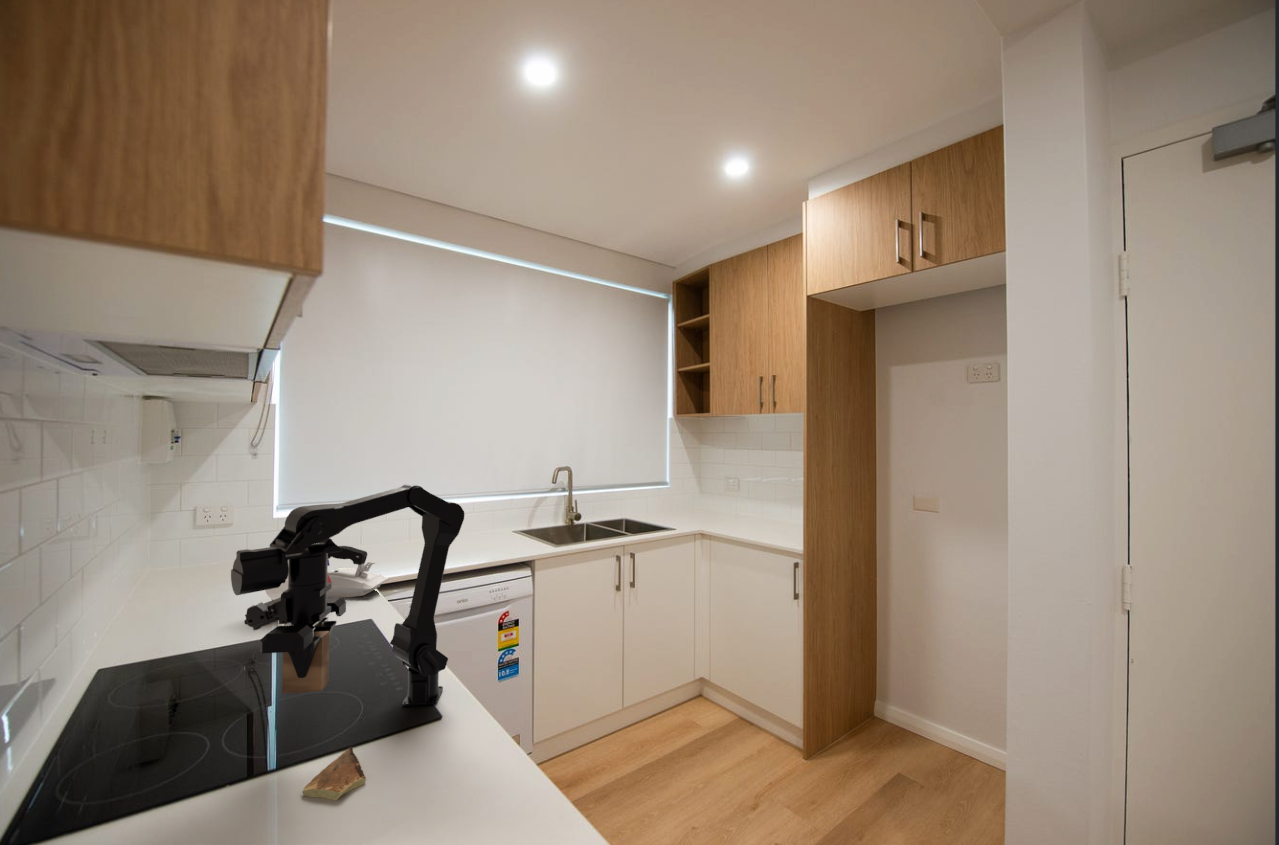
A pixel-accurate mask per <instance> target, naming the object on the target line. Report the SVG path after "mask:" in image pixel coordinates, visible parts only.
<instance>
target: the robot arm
mask: <svg viewBox="0 0 1279 845" xmlns="http://www.w3.org/2000/svg"><path fill="white" fill-rule="evenodd" d="M407 508H409V509H410V510H412V511H413V512H414V513H415V514H417V515H419V516H421V531H422V537H423V541H424V544H423V545H424V546H423V550H422V554H421V558H420V563H419V567H418V573H417V577H416V582H415V585H414V590H413V594H412V600H411V604H410V608H409V612H408V614H407V616H406V618H405V619H404V621H403V622H402V623H398V622H397V623H395V625H394V630H393V636H392V638H391V640H390V642H389V644H390V645H391V646H392V648H391V649H392V654H393V655H394V656H395V657H396V659H398V660H400V662H401V664H402V666H405V667H407V694H406V696H405V698H404V700H403V701H402V703H401V704H402V705H401V706H402V707H412V706H425V705H426V706H427V705H436V704H437V703H438V702H439V700H440V697H441V694H442V692H443V689H444V688H443V686H441V685H439V675H440V674H439V672H441V671H444V670H445V669H446V667H447V664H448V660H449V657H447V656H446V655H444V653H442V652H441V651H439V650H438V649H437V643H438V632H437V627H436V624H435V614H436V611H437V610H436V609H437V605H438V600H439V596H440V591H441V586H442V582H443V577H444V572H445V568H446V563H447V559H448V554H449V553H448V552H449V549H450V546H451V545H452V544H453V542H454V541H455V540H456V538H457V537H458V536H459V534H460V531H461V528H462V525H463V523H464V520H465V510H464V509H463V507H462V506H461V505H460V504H458V503H456V502H452V501H448V500H445V499H443V498H441V497H438V496H437V495H435V494H433V493H431V492H429V491H428V490H426V489H424V487H422V486H419V485H416V484H403V485H402V486H400V487H396V488H394V489H392V488H391V489H389V490H386V491H383V492H379V493H375V494H371V495H367V496H363V497H360V498H357V499H353V500H349V501H348V500H347V501H345V502H340V503H339V502H338V503H325V504H324V503H323V504H322V503H321V504H313V505H304V506H303V505H302V506H299V507H297V508H294V509H292V510H291V511H290V512H289V514H288V515H287V516H286V518H285V521H284V526H283V528H282V529H281V530H280V531H279V532H278V534H276V536H275V538H273V540H272V541H271V542H270V543H269V547H264V548H263V547H262V548H257V549H256V548H255V549H240V550H237V551H236V558H235V559H234V561H233V565H232V569H231V570H230V581H231V587H232V591H233V594H235V596H242V595H247V594H251V593H257V592H262V591H265V590H268V589H273V588H278V587H280V585H281V583H285V581H286V579H287V577H288V589H287V590H286V591H284V592H283V593H282V594H281V597H280V598H277V599H275V600H270V601H267V602H265V603H263V602H262V601H261V602H259V603H257V604H256V605H254V604H253V605H251V606H249V607H247V609H246V614H244V616H245V620H244V621H243V622H244V624H245V625H247V626H248V627H250V628H252V630H253V631H257V630H260V629H261V628H262V627H264V626H267V625H270V624H273V623H276V622H278V620H279V624H284V626H278V625H277V626H276V627H274V628H273V629H271V630H270V631H269V632H267V633H266V634H264V636H263V637H262V638H261V639H260V641H259V653H261V654H279V653H283V652H288V654H289V656H290V658H291V660H292V663H293V666H294V668H295V671H296V673H297V676H298V678H305V677H306V675H307V673H308V670H309V668H310V665H311V662H312V659H313V657H314V654H315V651H316V648H317V646H318V643H319V640H320V637H321V636H316V637H314V632H316V631H329V637H330V636H331V634H332V632H333V630H334V628H335V626H336V625H337V622H338V621H337V620H329V617H327V616H328V615H329V614H330V613H331V614H332V613H335V615H336V617H342V616H343V615H344V614H345V613H347V601H346V600H345V599H344V598H343V597H327V591H329V590H330V589H331V587H332V583H327V569H328V567H329V566H328V560H329V559H328V553H333V552H339V551H341V547H339V546H340V545H338V544H336V543H335V542H334V541H333V539H332V537H334V536H336V535H338V534H340V533H341V532H343V531H344V530H346V529H347V528H350V527H351V526H353V525H355V524H358V523H362V522H365V521H368V520H371V519H372V520H373V519H374V518H378V517H381V516H385V515H389V514H391V513H394V512H398V511H401V510H403V509H407ZM288 560H289V565H288ZM287 624H290V625H287Z"/></svg>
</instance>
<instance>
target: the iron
mask: <svg viewBox="0 0 1279 845" xmlns="http://www.w3.org/2000/svg"><path fill="white" fill-rule="evenodd" d="M338 546H339V547H341V551H339V552H333V553H328V560H330V559H331V558H334V559H339V560H350V561H352V563H353V565H357V568H353V567H351V568H350V567H339V568H337V569H333V570H332V569H330V568H327V573H328V575H329V577H330V579H331V583H332V587H331V589H330V590H329V591H327V598H331V597H341V598H353V597H361V596H365V595H367V594H370V593H371V592H373V591H374V590H377V589H378V588H380V587H381V585H382V584H383V583H386V582H388V581H389V580H390V577H387V576H384V575H381V574H378V573H374V572H371V571H370V569H371V567H372V566H373V565H375V564H376V562H374V561H373V562H372V561H368V562H367V558H368V552H367V551H366V550H362V549H359V548H355V547H354V546H349V545H338ZM366 562H367V563H366ZM365 563H366V564H365Z"/></svg>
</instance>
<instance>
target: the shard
mask: <svg viewBox="0 0 1279 845" xmlns="http://www.w3.org/2000/svg"><path fill="white" fill-rule="evenodd" d="M366 781H367V777H366V776H365V773H364V771H363V769H362V765H361V764H360V761H359V758H358V757H357V755H356V754H355V752H354V748H352V745H350V746H349V747H348V748H346V750H345V751H344V752H342V753H341V755H340V756H338V757H337V758H336V759H334V760H333V761H331V762H330V763H329V764H328V765H327V766H326V767H325V768H324V769H322V770H321V771H320V772H319V773H318V774H316V775H315V776H314V777H313V778H312V779H311V781H310V782H309V783H308V784H306V785H305V786H304V788H303V790H302V795H303V797H311V798H312V797H313V798H322V799H328V800H333V801H337V800H339V799H340V797H341V796H344V795H345V794H346V793H348V792H350V791H351V790H354V789H355V788H358V787H360V786H362V785H364V784H366Z"/></svg>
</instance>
